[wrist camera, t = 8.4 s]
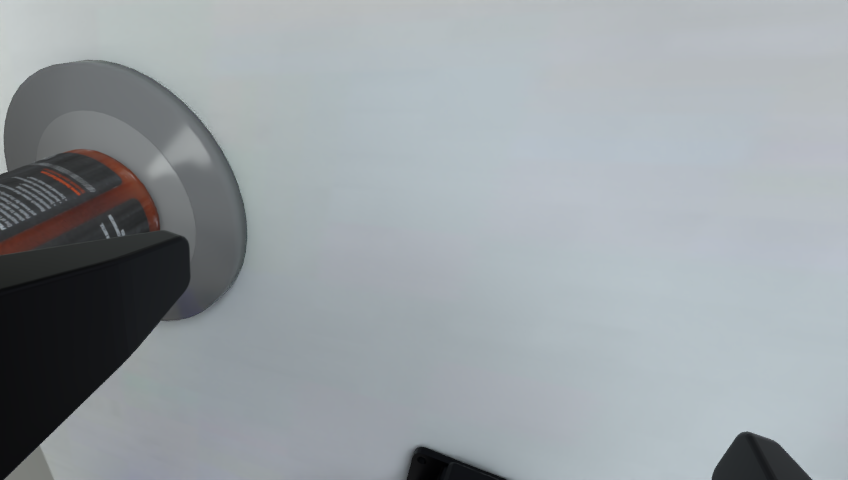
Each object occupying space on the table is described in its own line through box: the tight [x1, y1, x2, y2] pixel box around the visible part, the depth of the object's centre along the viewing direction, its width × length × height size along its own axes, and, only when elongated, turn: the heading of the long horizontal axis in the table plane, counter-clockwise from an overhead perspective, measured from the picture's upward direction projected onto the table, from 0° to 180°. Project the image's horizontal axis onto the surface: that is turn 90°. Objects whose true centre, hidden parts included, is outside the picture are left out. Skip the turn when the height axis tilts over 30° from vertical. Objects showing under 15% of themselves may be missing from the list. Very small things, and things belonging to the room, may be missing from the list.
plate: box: [4, 60, 247, 321], centre depth 26 cm, size 13×13×1 cm
